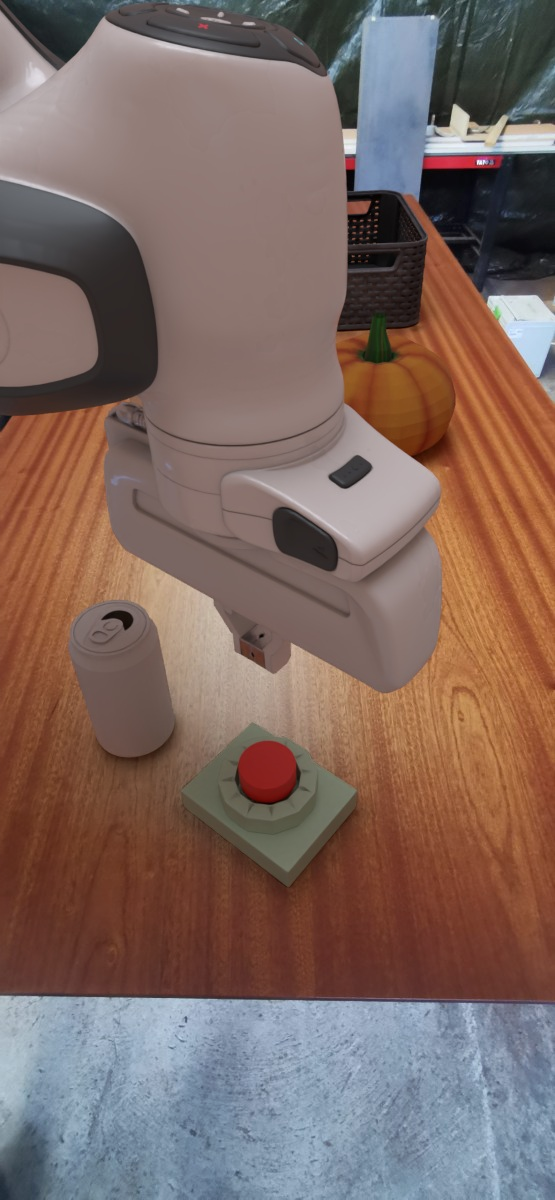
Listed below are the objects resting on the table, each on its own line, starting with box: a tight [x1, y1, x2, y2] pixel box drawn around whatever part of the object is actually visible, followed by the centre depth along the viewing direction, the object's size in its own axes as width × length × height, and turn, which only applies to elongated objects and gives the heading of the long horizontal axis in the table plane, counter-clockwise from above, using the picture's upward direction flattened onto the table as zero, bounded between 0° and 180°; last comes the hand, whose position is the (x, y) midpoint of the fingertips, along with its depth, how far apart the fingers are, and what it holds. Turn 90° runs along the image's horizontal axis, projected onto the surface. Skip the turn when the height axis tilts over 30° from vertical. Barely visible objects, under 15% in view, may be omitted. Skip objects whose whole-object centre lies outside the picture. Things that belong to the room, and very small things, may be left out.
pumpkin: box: [336, 313, 457, 457], centre depth 88 cm, size 19×19×15 cm
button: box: [238, 741, 296, 803], centre depth 51 cm, size 4×4×2 cm
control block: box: [180, 721, 358, 888], centre depth 53 cm, size 10×8×4 cm
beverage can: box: [67, 599, 176, 758], centre depth 56 cm, size 6×6×12 cm
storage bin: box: [337, 189, 429, 331], centre depth 124 cm, size 29×19×13 cm
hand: (263, 657), depth 43 cm, fingers closed
